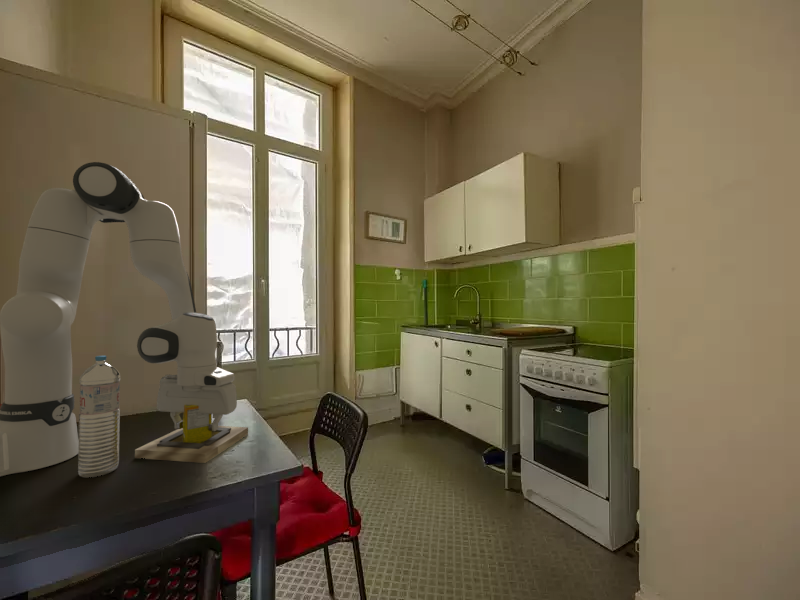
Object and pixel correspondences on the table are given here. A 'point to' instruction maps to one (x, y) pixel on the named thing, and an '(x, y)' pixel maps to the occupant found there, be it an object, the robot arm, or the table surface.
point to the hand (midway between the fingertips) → (196, 429)
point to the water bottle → (99, 420)
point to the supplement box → (195, 425)
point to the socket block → (191, 445)
